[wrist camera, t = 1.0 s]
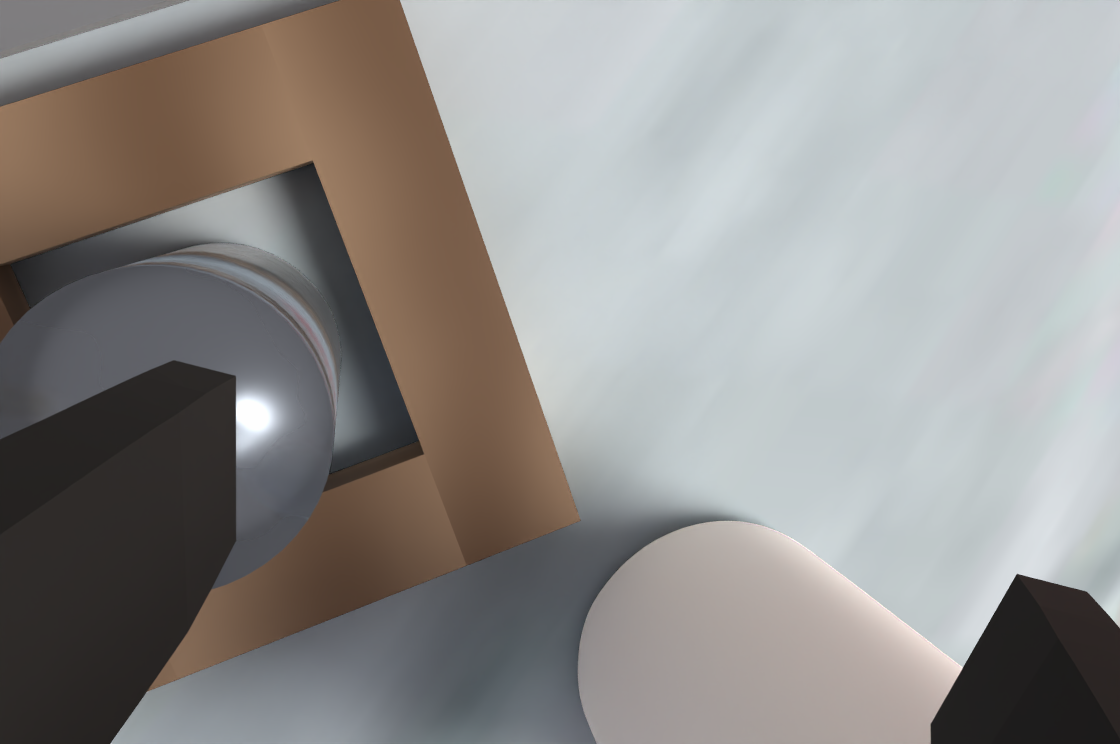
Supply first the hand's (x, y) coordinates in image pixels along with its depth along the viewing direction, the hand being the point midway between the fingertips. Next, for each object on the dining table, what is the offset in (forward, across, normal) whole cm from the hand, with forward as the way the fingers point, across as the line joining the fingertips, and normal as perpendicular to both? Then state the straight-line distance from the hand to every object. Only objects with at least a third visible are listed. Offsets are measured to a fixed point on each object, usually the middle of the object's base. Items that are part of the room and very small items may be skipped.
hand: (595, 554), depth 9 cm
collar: (+9, +8, +5) cm, 13 cm away
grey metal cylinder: (+9, +8, +5) cm, 13 cm away
